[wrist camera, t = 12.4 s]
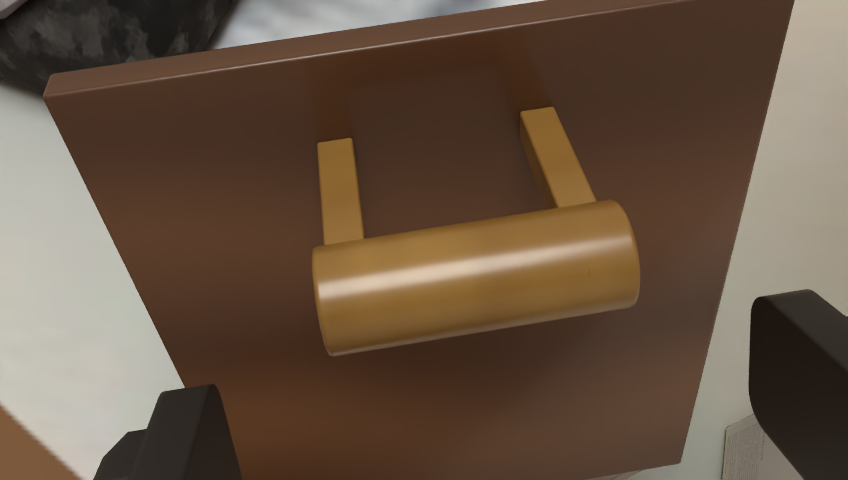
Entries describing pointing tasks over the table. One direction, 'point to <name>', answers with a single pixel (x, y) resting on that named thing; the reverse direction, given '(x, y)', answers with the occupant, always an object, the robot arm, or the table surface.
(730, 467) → the small box
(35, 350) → the table surface
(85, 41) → the rotary telephone
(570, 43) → the lid
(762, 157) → the table surface
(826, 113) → the table surface
